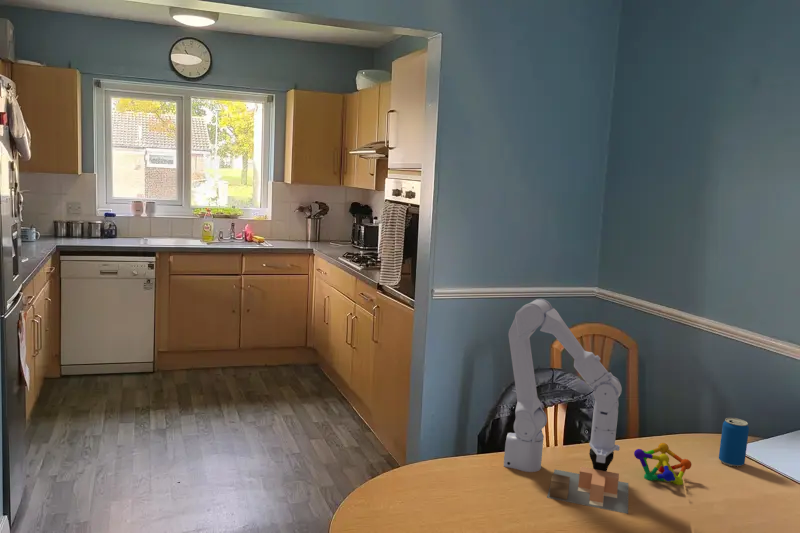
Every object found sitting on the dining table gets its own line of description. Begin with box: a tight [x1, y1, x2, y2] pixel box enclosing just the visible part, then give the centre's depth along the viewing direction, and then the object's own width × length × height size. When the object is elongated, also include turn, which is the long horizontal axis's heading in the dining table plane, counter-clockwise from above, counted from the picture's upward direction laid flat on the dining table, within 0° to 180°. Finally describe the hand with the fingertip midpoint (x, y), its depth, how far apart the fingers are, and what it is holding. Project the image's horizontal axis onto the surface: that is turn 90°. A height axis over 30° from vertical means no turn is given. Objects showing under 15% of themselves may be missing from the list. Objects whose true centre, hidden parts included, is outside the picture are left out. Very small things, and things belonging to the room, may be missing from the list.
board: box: [546, 469, 629, 515], centre depth 163 cm, size 18×17×1 cm
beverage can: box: [718, 417, 750, 468], centre depth 187 cm, size 6×6×12 cm
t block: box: [578, 466, 620, 503], centre depth 162 cm, size 9×9×4 cm
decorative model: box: [633, 442, 692, 486], centre depth 174 cm, size 13×9×15 cm
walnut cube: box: [549, 473, 570, 500], centre depth 160 cm, size 4×4×4 cm
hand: (598, 479), depth 167 cm, fingers closed
